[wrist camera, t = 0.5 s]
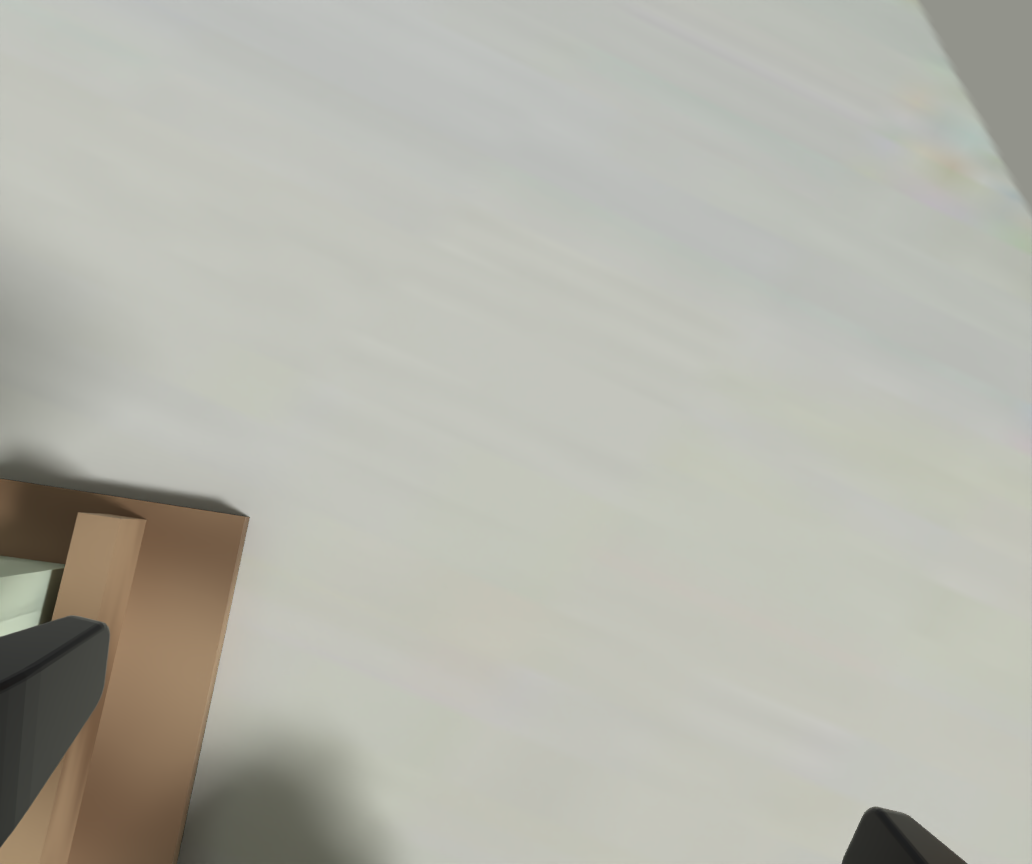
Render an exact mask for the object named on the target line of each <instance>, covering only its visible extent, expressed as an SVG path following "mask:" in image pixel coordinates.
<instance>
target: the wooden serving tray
mask: <svg viewBox="0 0 1032 864" xmlns="http://www.w3.org/2000/svg"><path fill="white" fill-rule="evenodd" d="M249 518H250V517H245V516H239V515H232V514H226V513H219V512H213V511H206V510H200V509H194V508H187V507H181V506H174V505H168V504H161V503H155V502H148V501H142V500H136V499H129V498H123V497H116V496H110V495H103V494H97V493H90V492H84V491H78V490H71V489H65V488H58V487H52V486H45V485H39V484H32V483H26V482H19V481H13V480H7V479H0V556H7V557H15V558H22V559H29V560H37V561H44V562H51V563H59V564H65V568H64V572H63V576H62V580H61V584H60V588H59V592H58V596H57V600H56V604H55V608H54V612H53V616H52V620H51V621H53V620H57V619H60V618H63V617H66V616H71V615H75V616H80V617H84V618H88V619H93V620H97V621H101V622H104V623H106V624H107V626H108V627H109V630H110V643H109V652H108V660H107V669H106V677H105V685H104V689H103V693H102V695H101V698H100V700H99V702H98V704H97V706H96V708H95V709H94V711H93V712H92V714H91V715H90V717H89V718H88V720H87V721H86V723H85V725H84V726H83V728H82V729H81V731H80V732H79V734H78V735H77V737H76V738H75V740H74V741H73V743H72V744H71V746H70V747H69V749H68V750H67V752H66V753H65V755H64V756H63V758H62V759H61V761H60V762H59V764H58V765H57V767H56V768H55V770H54V771H53V773H52V774H51V776H50V777H49V779H48V781H47V782H46V784H45V785H44V787H43V788H42V790H41V791H40V793H39V794H38V796H37V797H36V799H35V800H34V802H33V803H32V805H31V806H30V808H29V809H28V811H27V812H26V814H25V815H24V816H23V818H22V819H21V821H20V822H19V824H18V825H17V826H16V828H15V829H14V831H13V832H12V833H11V835H10V836H9V837H8V838H7V840H6V841H5V842H4V844H3V845H2V846H1V847H0V864H177V860H178V856H179V851H180V846H181V841H182V837H183V832H184V827H185V822H186V817H187V813H188V808H189V803H190V798H191V794H192V789H193V784H194V779H195V775H196V770H197V765H198V760H199V756H200V751H201V746H202V741H203V737H204V732H205V727H206V722H207V718H208V713H209V708H210V703H211V699H212V694H213V689H214V684H215V679H216V675H217V670H218V665H219V660H220V656H221V651H222V646H223V641H224V637H225V632H226V627H227V622H228V618H229V613H230V608H231V603H232V599H233V594H234V589H235V584H236V580H237V575H238V570H239V565H240V561H241V556H242V551H243V546H244V541H245V537H246V532H247V527H248V522H249Z"/></svg>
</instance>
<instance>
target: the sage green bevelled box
mask: <svg viewBox="0 0 1032 864" xmlns="http://www.w3.org/2000/svg"><path fill="white" fill-rule="evenodd" d="M64 568H65V564H59V563H51V562H44V561H37V560H29V559H22V558H15V557H7V556H0V637H1V636H4V635H7V634H11V633H14V632H17V631H21V630H24V629H27V628H30V627H34V626H37V625H40V624H43V623H47V622H50V621H51V620H52V616H53V612H54V608H55V604H56V600H57V596H58V592H59V588H60V584H61V580H62V576H63V572H64Z"/></svg>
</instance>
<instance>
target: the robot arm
mask: <svg viewBox="0 0 1032 864" xmlns="http://www.w3.org/2000/svg"><path fill="white" fill-rule="evenodd" d="M109 643H110V630H109V627H108V626H107V624H106V623H104V622H101V621H97V620H93V619H88V618H84V617H80V616H75V615H71V616H66V617H63V618H60V619H57V620H53V621H50V622H47V623H43V624H40V625H37V626H34V627H30V628H27V629H24V630H21V631H17V632H14V633H11V634H7V635H4V636H1V637H0V847H1V846H2V845H3V844H4V842H5V841H6V840H7V838H8V837H9V836H10V835H11V833H12V832H13V831H14V829H15V828H16V826H17V825H18V824H19V822H20V821H21V819H22V818H23V816H24V815H25V814H26V812H27V811H28V809H29V808H30V806H31V805H32V803H33V802H34V800H35V799H36V797H37V796H38V794H39V793H40V791H41V790H42V788H43V787H44V785H45V784H46V782H47V781H48V779H49V777H50V776H51V774H52V773H53V771H54V770H55V768H56V767H57V765H58V764H59V762H60V761H61V759H62V758H63V756H64V755H65V753H66V752H67V750H68V749H69V747H70V746H71V744H72V743H73V741H74V740H75V738H76V737H77V735H78V734H79V732H80V731H81V729H82V728H83V726H84V725H85V723H86V721H87V720H88V718H89V717H90V715H91V714H92V712H93V711H94V709H95V708H96V706H97V704H98V702H99V700H100V698H101V695H102V693H103V689H104V685H105V677H106V669H107V660H108V652H109ZM842 864H967V863H966V862H965V861H964V860H963V859H961V858H960V857H959V856H958V855H956V854H955V853H954V852H953V851H952V850H950V849H949V848H948V847H947V846H946V845H944V844H943V843H942V842H941V841H939V840H938V839H937V838H936V837H935V836H933V835H932V834H931V833H930V832H928V831H927V830H926V829H925V828H924V827H922V826H921V825H920V824H919V823H918V822H916V821H915V820H914V819H913V818H911V817H910V816H909V815H906V814H904V813H901V812H897V811H893V810H889V809H884V808H880V807H872V808H869V809H868V810H867V811H866V812H865V813H864V815H863V816H862V818H861V821H860V823H859V825H858V827H857V829H856V831H855V834H854V836H853V838H852V840H851V842H850V844H849V847H848V849H847V851H846V853H845V855H844V858H843V861H842Z"/></svg>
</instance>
